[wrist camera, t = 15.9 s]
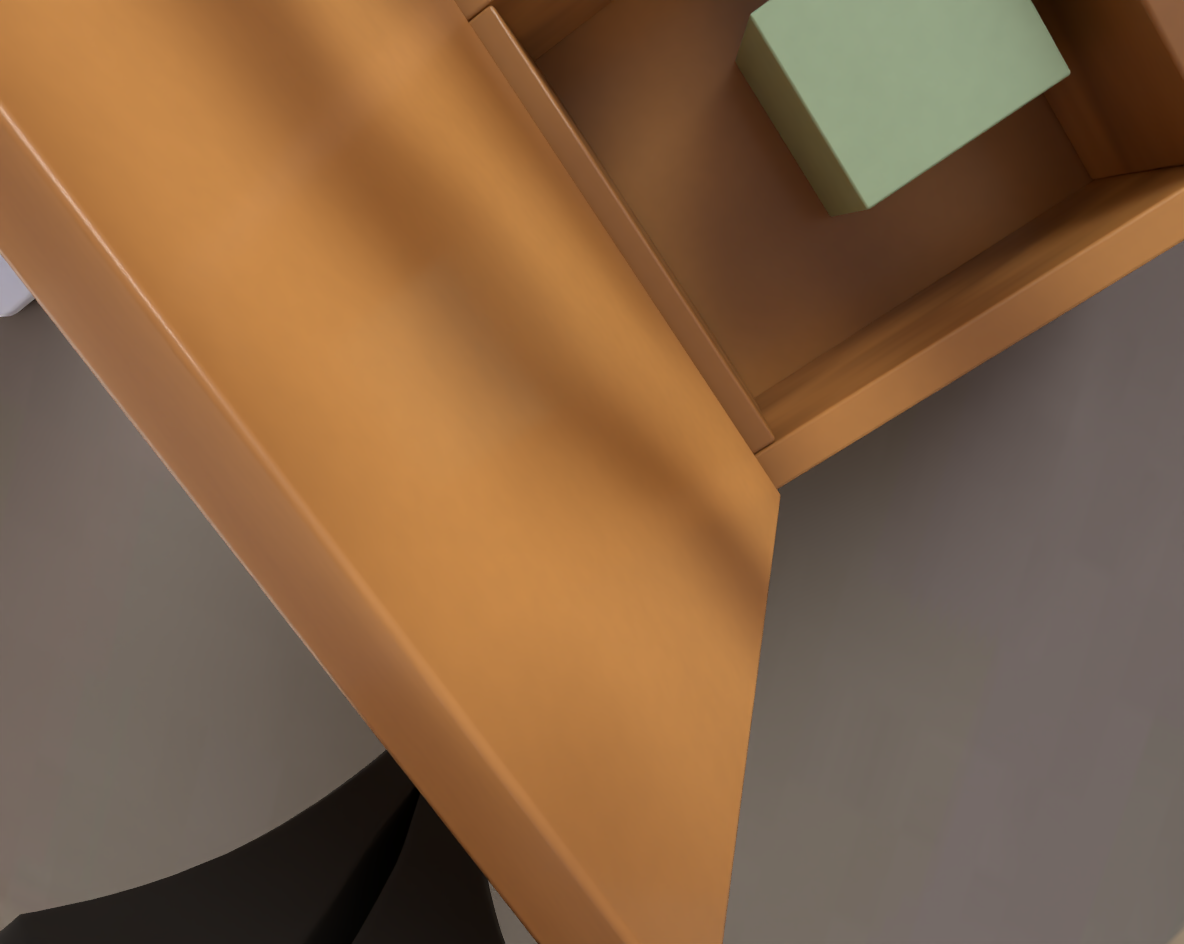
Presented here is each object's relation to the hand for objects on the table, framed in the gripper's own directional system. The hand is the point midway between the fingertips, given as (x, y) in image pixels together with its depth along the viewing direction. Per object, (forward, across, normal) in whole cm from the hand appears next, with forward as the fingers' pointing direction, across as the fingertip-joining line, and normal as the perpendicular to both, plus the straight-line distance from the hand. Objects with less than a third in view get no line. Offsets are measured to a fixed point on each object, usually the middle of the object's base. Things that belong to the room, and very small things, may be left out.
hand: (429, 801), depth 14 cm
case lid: (-2, 0, -8) cm, 8 cm away
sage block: (+9, -4, -13) cm, 17 cm away
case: (+10, -4, -12) cm, 16 cm away
